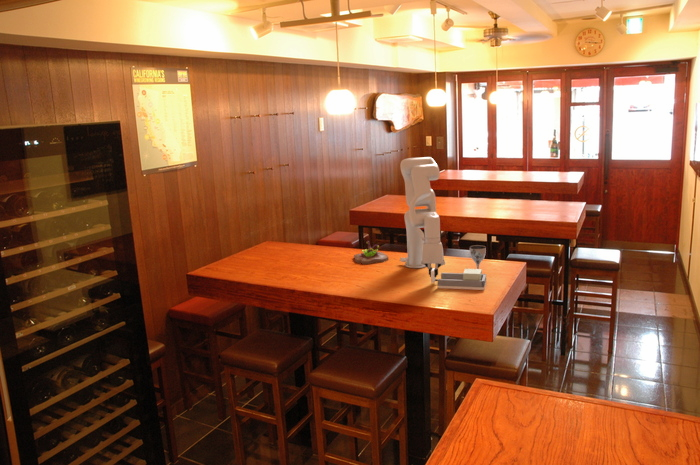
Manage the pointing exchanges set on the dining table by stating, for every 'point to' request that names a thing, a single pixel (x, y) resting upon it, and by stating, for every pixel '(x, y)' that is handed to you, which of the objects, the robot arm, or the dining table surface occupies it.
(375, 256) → the plant
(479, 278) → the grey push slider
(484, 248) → the wine glass
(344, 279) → the dining table surface
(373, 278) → the dining table surface
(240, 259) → the dining table surface
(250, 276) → the dining table surface
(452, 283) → the lane tray
